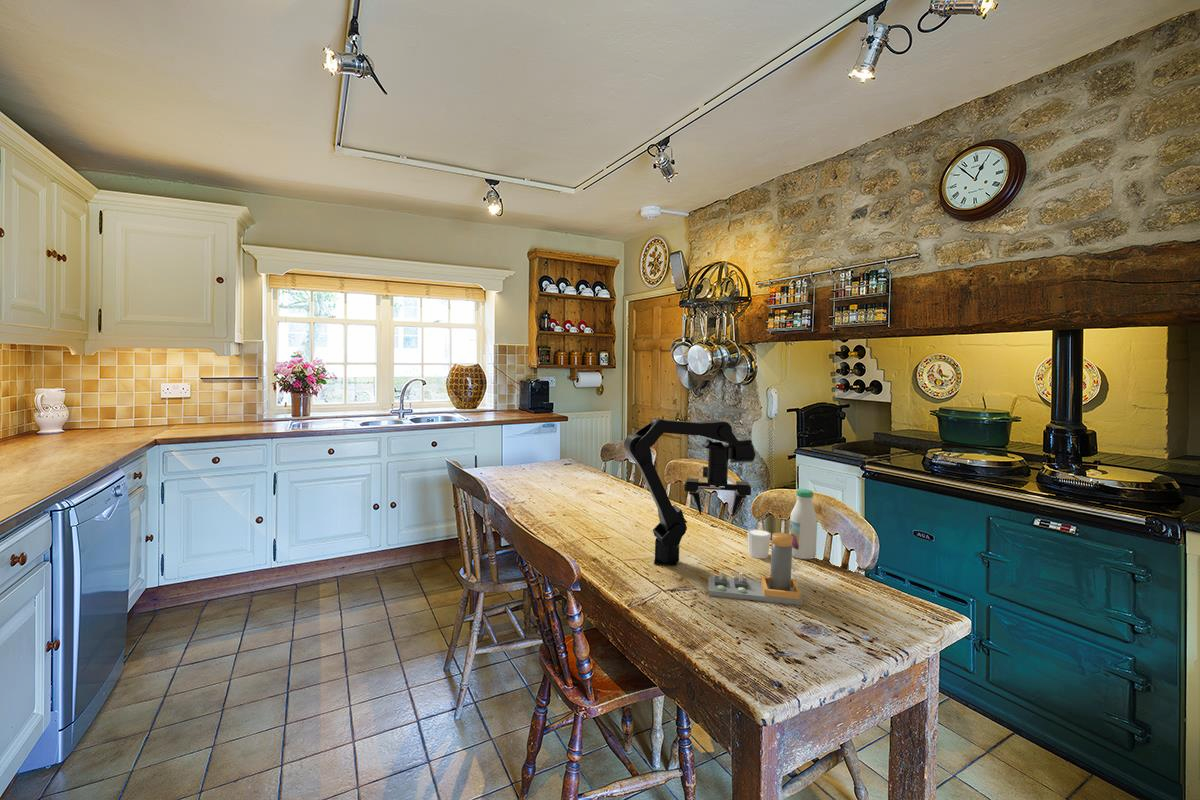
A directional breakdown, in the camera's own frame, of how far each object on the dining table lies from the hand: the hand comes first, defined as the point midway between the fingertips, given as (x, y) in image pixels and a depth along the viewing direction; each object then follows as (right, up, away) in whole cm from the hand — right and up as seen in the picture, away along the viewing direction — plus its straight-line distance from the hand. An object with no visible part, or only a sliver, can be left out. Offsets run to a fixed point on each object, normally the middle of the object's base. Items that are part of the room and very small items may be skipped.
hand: (716, 515), depth 151 cm
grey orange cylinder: (+11, -14, -23) cm, 29 cm away
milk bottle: (+27, -13, +5) cm, 31 cm away
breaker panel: (+4, -15, -21) cm, 26 cm away
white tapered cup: (+14, -13, +4) cm, 20 cm away
